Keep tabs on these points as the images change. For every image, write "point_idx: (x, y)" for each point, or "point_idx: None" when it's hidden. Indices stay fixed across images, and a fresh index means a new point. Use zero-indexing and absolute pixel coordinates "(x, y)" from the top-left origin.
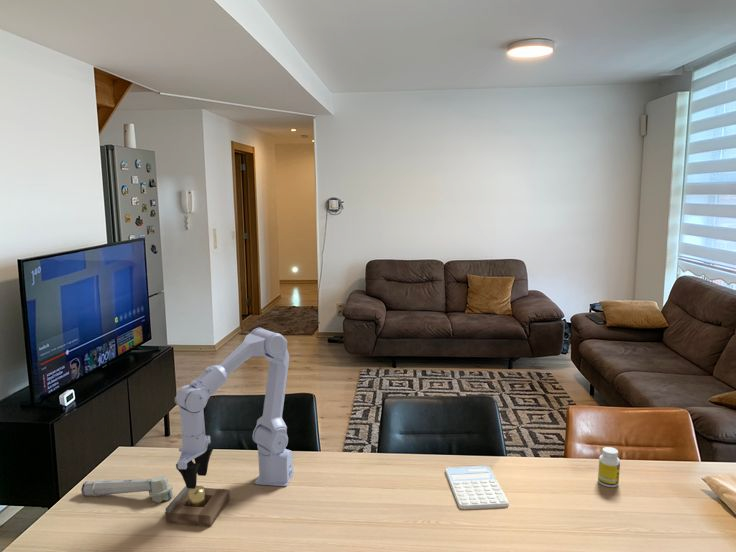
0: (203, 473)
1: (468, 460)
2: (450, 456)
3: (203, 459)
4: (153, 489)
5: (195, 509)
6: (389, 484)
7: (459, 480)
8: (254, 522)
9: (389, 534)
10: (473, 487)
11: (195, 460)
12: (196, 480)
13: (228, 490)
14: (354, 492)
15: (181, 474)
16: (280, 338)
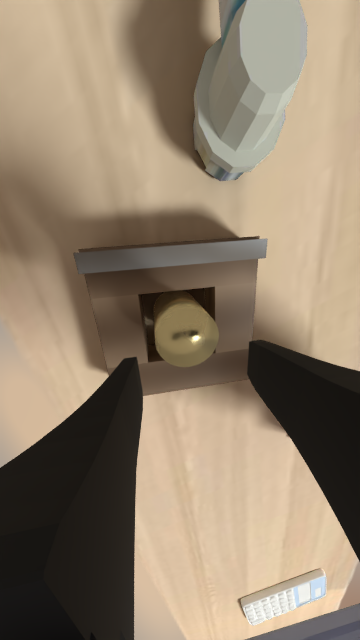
0: (253, 374)
1: (343, 574)
2: (355, 560)
3: (319, 452)
4: (216, 66)
5: (130, 345)
6: (293, 541)
7: (295, 590)
8: (161, 444)
9: (177, 578)
10: (279, 602)
11: (321, 385)
12: (138, 431)
13: (245, 379)
14: (272, 520)
15: (57, 428)
16: None
